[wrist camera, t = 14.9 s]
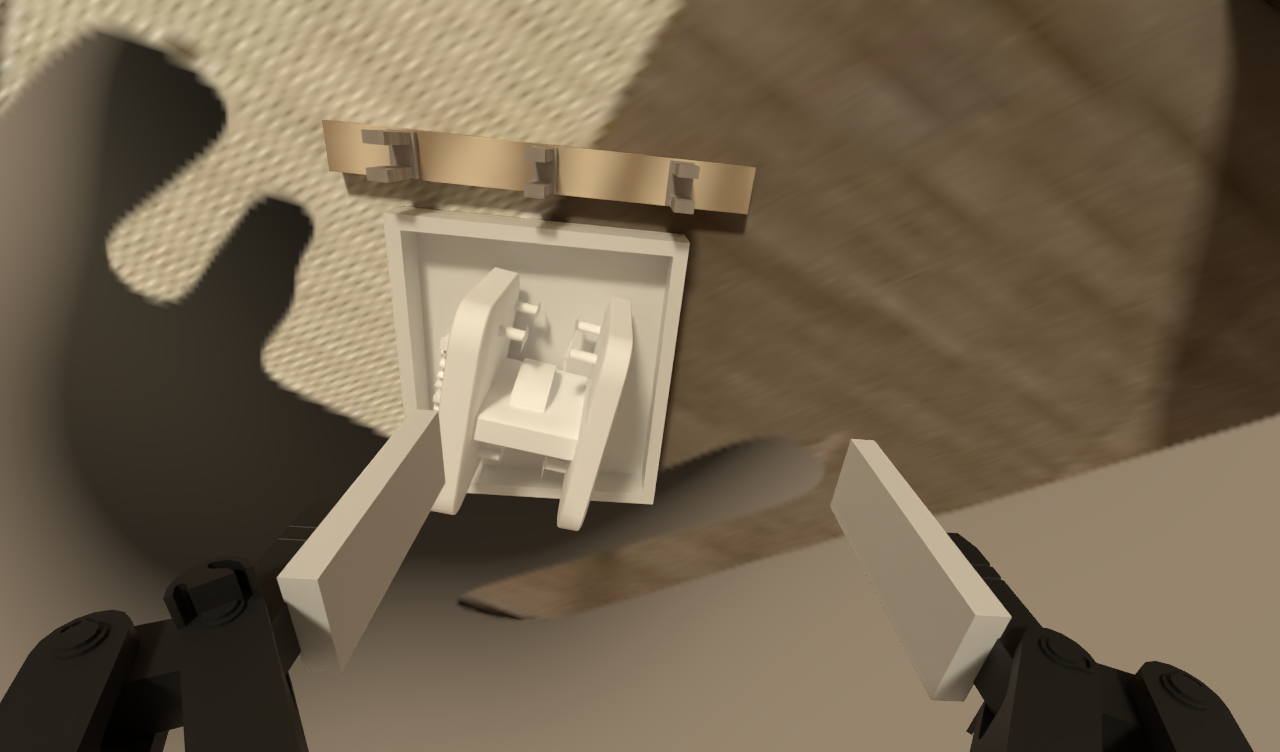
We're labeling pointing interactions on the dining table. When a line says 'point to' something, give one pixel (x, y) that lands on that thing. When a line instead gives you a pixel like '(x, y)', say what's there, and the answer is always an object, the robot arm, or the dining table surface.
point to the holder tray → (544, 324)
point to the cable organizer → (526, 395)
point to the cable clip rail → (536, 168)
